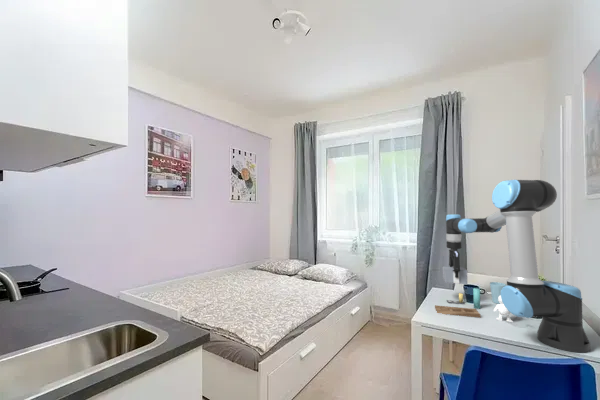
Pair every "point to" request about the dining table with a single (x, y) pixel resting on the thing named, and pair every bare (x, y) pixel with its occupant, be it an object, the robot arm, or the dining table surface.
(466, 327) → the dining table surface
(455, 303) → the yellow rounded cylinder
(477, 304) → the peg
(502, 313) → the figurine
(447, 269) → the housing
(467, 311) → the socket board
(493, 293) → the cup
